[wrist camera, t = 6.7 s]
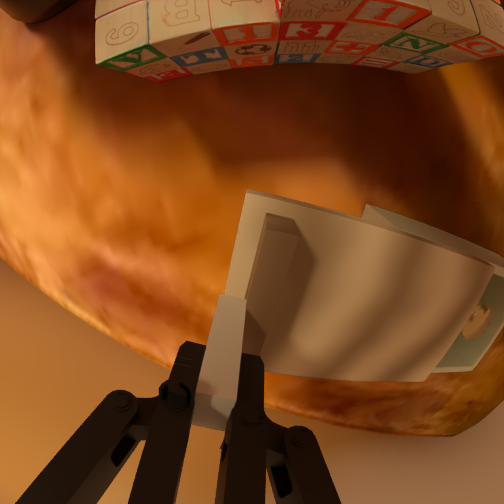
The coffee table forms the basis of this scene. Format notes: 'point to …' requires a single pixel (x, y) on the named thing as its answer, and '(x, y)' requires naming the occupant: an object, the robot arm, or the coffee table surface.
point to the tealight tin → (477, 321)
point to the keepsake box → (495, 296)
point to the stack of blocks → (292, 34)
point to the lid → (347, 293)
